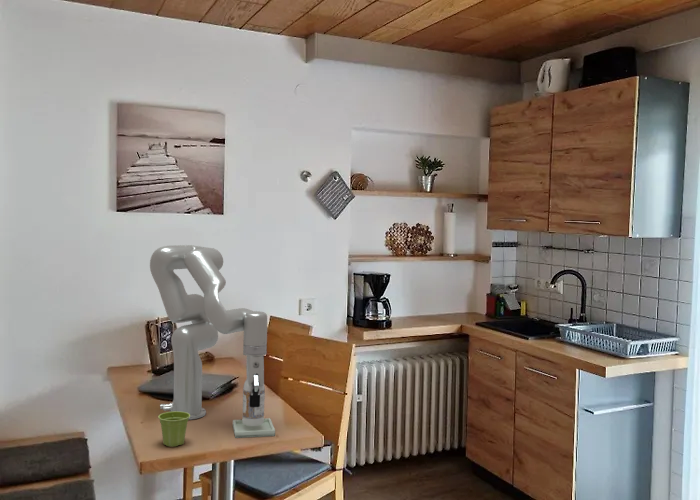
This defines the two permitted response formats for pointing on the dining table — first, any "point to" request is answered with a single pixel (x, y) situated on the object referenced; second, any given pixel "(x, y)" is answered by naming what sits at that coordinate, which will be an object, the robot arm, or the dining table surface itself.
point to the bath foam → (252, 414)
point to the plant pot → (173, 427)
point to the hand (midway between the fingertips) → (253, 403)
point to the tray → (253, 429)
